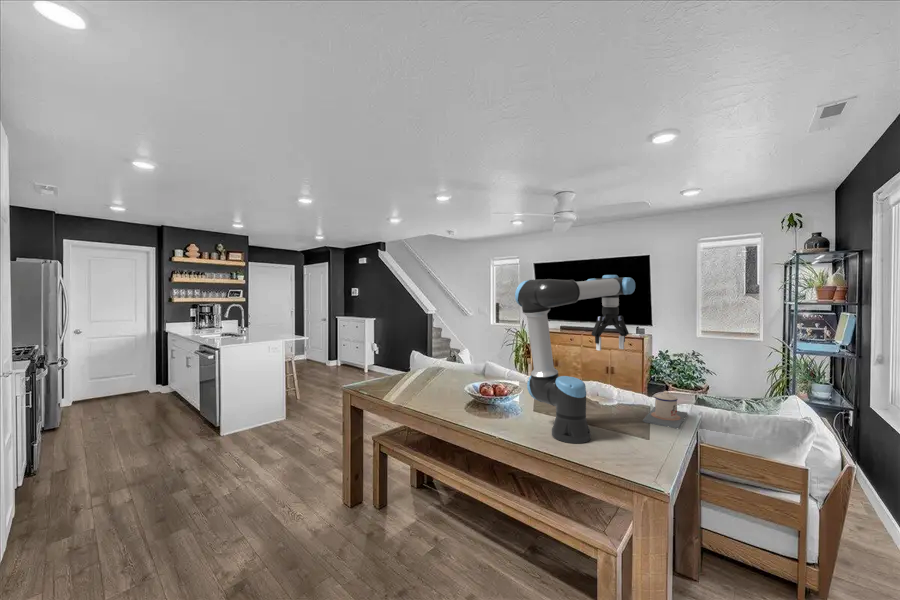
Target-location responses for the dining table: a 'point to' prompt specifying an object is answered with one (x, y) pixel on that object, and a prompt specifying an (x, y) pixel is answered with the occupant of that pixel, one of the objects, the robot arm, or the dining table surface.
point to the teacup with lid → (666, 405)
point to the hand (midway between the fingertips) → (610, 349)
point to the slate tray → (665, 422)
